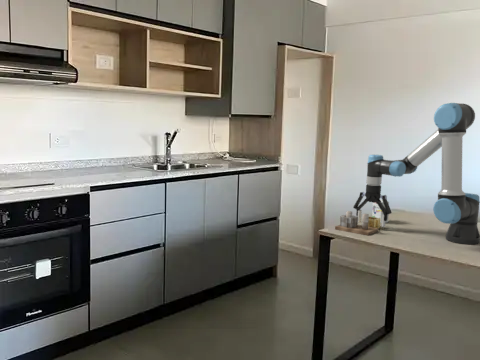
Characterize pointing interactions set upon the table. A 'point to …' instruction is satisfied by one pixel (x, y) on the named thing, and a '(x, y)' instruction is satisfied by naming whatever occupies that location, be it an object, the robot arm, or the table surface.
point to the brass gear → (374, 222)
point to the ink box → (378, 211)
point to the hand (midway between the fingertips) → (371, 224)
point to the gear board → (355, 224)
